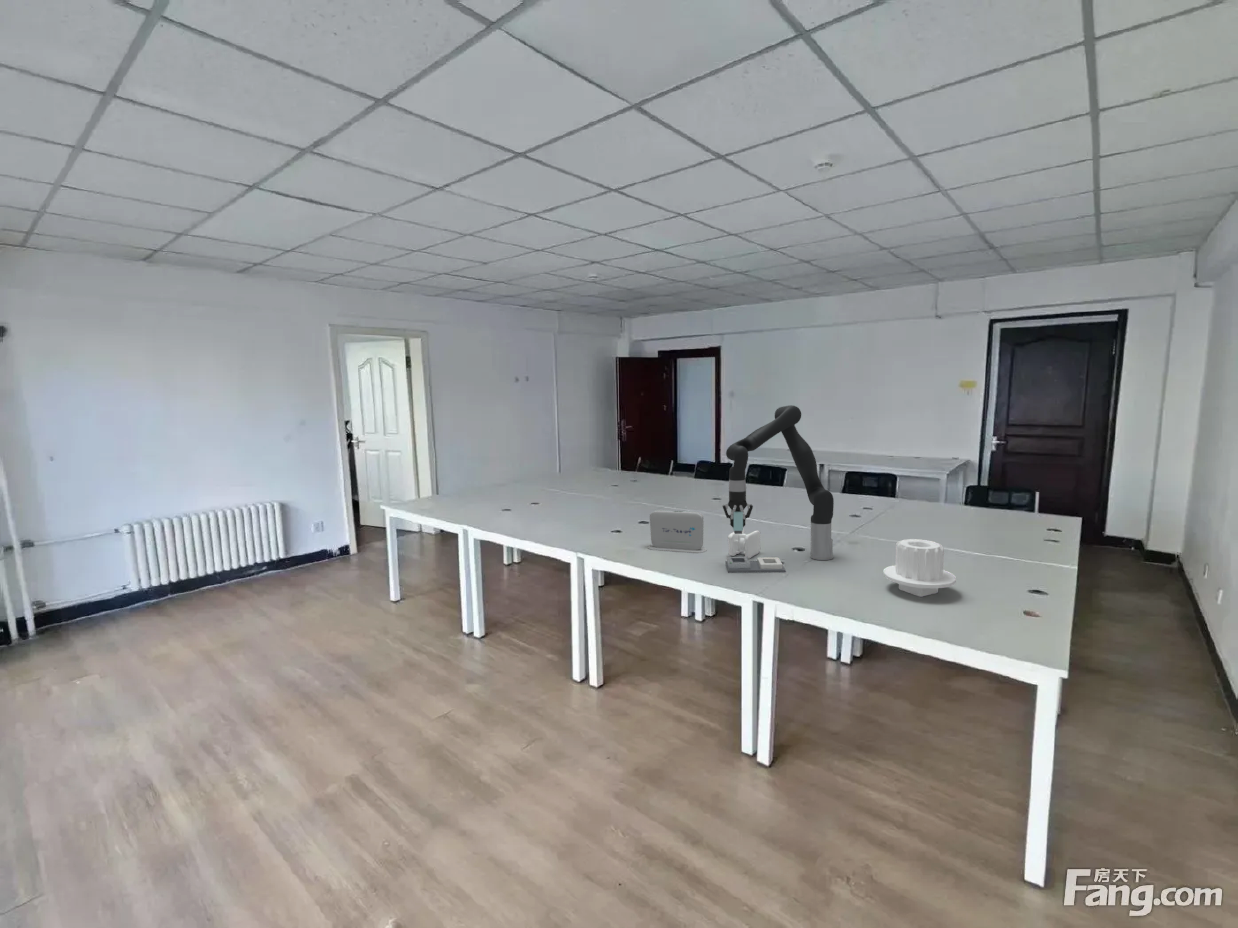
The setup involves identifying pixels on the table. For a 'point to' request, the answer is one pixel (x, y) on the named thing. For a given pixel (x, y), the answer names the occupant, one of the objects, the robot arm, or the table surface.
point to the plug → (738, 522)
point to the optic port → (738, 563)
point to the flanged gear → (919, 567)
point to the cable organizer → (744, 543)
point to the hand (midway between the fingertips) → (737, 526)
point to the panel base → (754, 568)
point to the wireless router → (677, 531)
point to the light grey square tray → (769, 563)
